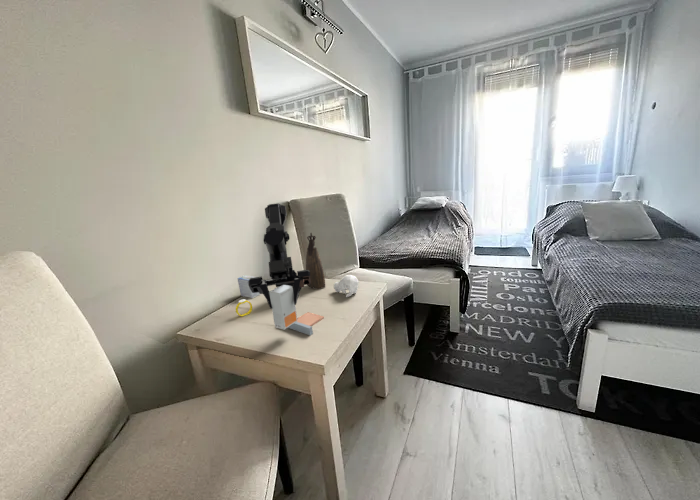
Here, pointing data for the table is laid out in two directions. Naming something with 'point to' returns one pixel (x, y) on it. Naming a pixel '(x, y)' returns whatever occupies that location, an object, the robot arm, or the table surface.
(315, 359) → the table surface
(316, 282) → the statue
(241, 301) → the watch
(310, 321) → the terracotta tile
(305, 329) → the low wall
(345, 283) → the white animal figurine
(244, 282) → the medicine box
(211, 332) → the table surface
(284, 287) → the skincare box
